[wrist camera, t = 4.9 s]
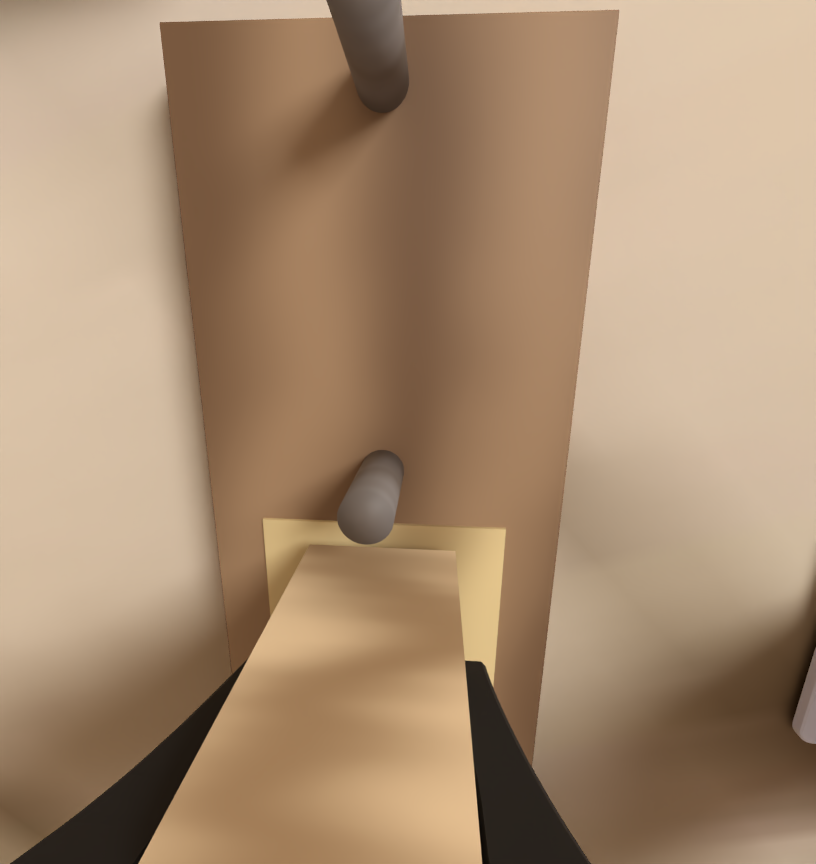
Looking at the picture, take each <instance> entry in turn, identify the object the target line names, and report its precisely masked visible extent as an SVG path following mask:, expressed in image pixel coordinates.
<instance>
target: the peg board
mask: <svg viewBox="0 0 816 864" xmlns="http://www.w3.org/2000/svg"><path fill="white" fill-rule="evenodd" d="M327 3H328V6H329V9H330V12H331V15H332V18H305V19H268V20H232V21H195V22H160V31H161V40H162V49H163V58H164V67H165V76H166V85H167V94H168V103H169V112H170V121H171V130H172V139H173V148H174V157H175V166H176V175H177V184H178V193H179V202H180V211H181V220H182V229H183V238H184V247H185V256H186V265H187V274H188V283H189V292H190V301H191V310H192V319H193V328H194V337H195V346H196V355H197V364H198V373H199V382H200V391H201V400H202V409H203V418H204V427H205V436H206V445H207V454H208V463H209V472H210V481H211V490H212V499H213V508H214V517H215V526H216V535H217V544H218V553H219V562H220V571H221V580H222V589H223V598H224V607H225V616H226V625H227V634H228V643H229V652H230V661H231V670H232V674H233V673H234V672H235V671H236V670H237V669H238V668H239V667H240V666H241V665H242V664H243V663H244V662H245V661H246V660H247V659H248V658H249V656H250V655H251V653H252V651H253V649H254V647H255V645H256V643H257V642H258V640H259V638H260V636H261V634H262V632H263V630H264V629H265V627H266V625H267V623H268V621H269V619H270V617H271V615H272V614H273V612H274V610H275V608H276V606H277V604H278V602H279V601H280V599H281V597H282V595H283V593H284V591H285V589H286V588H287V586H288V584H289V582H290V580H291V578H292V576H293V574H294V573H295V571H296V569H297V567H298V565H299V563H300V561H301V560H302V558H303V556H304V554H305V552H306V550H307V548H308V546H309V545H310V544H312V545H334V546H356V547H378V548H400V549H422V550H444V551H456V563H457V575H458V586H459V598H460V610H461V621H462V633H463V645H464V656H465V660H466V661H481V662H482V663H483V664H484V665H485V666H486V669H487V672H488V675H489V678H490V680H491V683H492V686H493V688H494V691H495V693H496V695H497V698H498V700H499V702H500V704H501V707H502V709H503V711H504V713H505V715H506V718H507V720H508V722H509V724H510V726H511V728H512V730H513V732H514V734H515V736H516V738H517V740H518V742H519V744H520V746H521V748H522V750H523V752H524V753H525V755H526V757H527V759H528V761H529V763H530V765H531V767H532V761H533V752H534V744H535V735H536V726H537V718H538V709H539V700H540V692H541V683H542V675H543V666H544V657H545V649H546V640H547V631H548V623H549V614H550V605H551V597H552V588H553V580H554V571H555V562H556V554H557V545H558V536H559V528H560V519H561V510H562V502H563V493H564V484H565V476H566V467H567V459H568V450H569V441H570V433H571V424H572V415H573V407H574V398H575V389H576V381H577V372H578V363H579V355H580V346H581V338H582V329H583V320H584V312H585V303H586V294H587V286H588V277H589V268H590V260H591V251H592V243H593V234H594V225H595V217H596V208H597V199H598V191H599V182H600V173H601V165H602V156H603V147H604V139H605V130H606V122H607V113H608V104H609V96H610V87H611V78H612V70H613V61H614V52H615V44H616V35H617V27H618V18H619V10H598V11H561V12H525V13H488V14H451V15H415V16H403V15H402V6H401V0H327Z"/></svg>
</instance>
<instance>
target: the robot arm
mask: <svg viewBox="0 0 816 864" xmlns="http://www.w3.org/2000/svg"><path fill="white" fill-rule="evenodd" d="M247 660H248V659H247ZM247 660H246V661H245V662H244V663H243V664H242V665H241V666H240V667H239V668H238V669H237V670H236V671H235V672H234V673H233V674H232V675H231V676H230V677H229V678H228V679H227V680H226V681H225V682H224V683H223V684H222V685H221V686H220V687H219V688H218V689H217V690H216V691H215V692H214V693H213V694H212V695H211V696H210V697H209V698H208V699H207V700H206V701H205V702H204V703H203V704H202V705H201V706H200V707H199V708H198V709H197V710H196V711H195V712H194V713H193V714H192V715H191V716H190V717H189V718H188V719H187V720H186V721H185V722H183V723H182V724H181V725H180V726H179V727H178V728H177V729H176V730H175V731H174V732H173V733H172V734H171V735H170V736H168V737H167V738H166V739H165V740H164V741H163V742H162V743H161V744H160V745H158V746H157V747H156V748H155V749H154V750H153V751H152V752H151V753H150V754H149V755H147V756H146V757H145V758H144V759H143V760H142V761H141V762H140V763H139V764H137V765H136V766H135V767H134V768H133V769H132V770H130V771H129V772H128V773H127V774H126V775H125V776H123V777H122V778H121V779H120V780H119V781H118V782H116V783H115V784H114V785H113V786H112V787H110V788H109V789H108V790H107V791H105V792H104V793H103V794H102V795H101V796H99V797H98V798H97V799H96V800H94V801H93V802H92V803H91V804H89V805H88V806H87V807H86V808H84V809H83V810H82V811H81V812H79V813H78V814H77V815H75V816H74V817H73V818H72V819H70V820H69V821H68V822H66V823H65V824H64V825H62V826H61V827H60V828H58V829H57V830H56V831H54V832H53V833H51V834H50V835H49V836H47V837H46V838H45V839H43V840H42V841H41V842H39V843H38V844H36V845H35V846H34V847H32V848H31V849H30V850H28V851H27V852H26V853H24V854H23V855H21V856H20V857H19V858H17V859H16V860H15V861H13V862H12V863H10V864H138V863H139V862H140V860H141V858H142V856H143V854H144V852H145V850H146V848H147V847H148V845H149V843H150V841H151V839H152V837H153V835H154V834H155V832H156V830H157V828H158V826H159V824H160V822H161V820H162V819H163V817H164V815H165V813H166V811H167V809H168V807H169V806H170V804H171V802H172V800H173V798H174V796H175V794H176V793H177V791H178V789H179V787H180V785H181V783H182V781H183V779H184V778H185V776H186V774H187V772H188V770H189V768H190V766H191V765H192V763H193V761H194V759H195V757H196V755H197V753H198V752H199V750H200V748H201V746H202V744H203V742H204V740H205V738H206V737H207V735H208V733H209V731H210V729H211V727H212V725H213V724H214V722H215V720H216V718H217V716H218V714H219V712H220V711H221V709H222V707H223V705H224V703H225V701H226V699H227V697H228V696H229V694H230V692H231V690H232V688H233V686H234V684H235V683H236V681H237V679H238V677H239V675H240V673H241V671H242V670H243V668H244V666H245V664H246V662H247ZM465 668H466V680H467V692H468V703H469V715H470V727H471V738H472V750H473V762H474V773H475V785H476V797H477V808H478V820H479V832H480V843H481V855H482V864H591V863H590V862H589V860H588V859H587V857H586V856H585V854H584V853H583V851H582V850H581V848H580V846H579V845H578V843H577V842H576V840H575V839H574V837H573V836H572V834H571V833H570V831H569V829H568V828H567V826H566V825H565V823H564V821H563V820H562V818H561V817H560V815H559V813H558V812H557V810H556V808H555V807H554V805H553V803H552V802H551V800H550V798H549V797H548V795H547V793H546V791H545V790H544V788H543V786H542V784H541V783H540V781H539V779H538V777H537V776H536V774H535V772H534V770H533V768H532V767H531V765H530V763H529V761H528V759H527V757H526V755H525V753H524V752H523V750H522V748H521V746H520V744H519V742H518V740H517V738H516V736H515V734H514V732H513V730H512V728H511V726H510V724H509V722H508V720H507V718H506V715H505V713H504V711H503V709H502V707H501V704H500V702H499V700H498V698H497V695H496V693H495V691H494V688H493V686H492V683H491V680H490V678H489V675H488V672H487V669H486V666H485V665H484V664H483V663H482V662H481V661H466V660H465ZM792 727H793V729H794V731H795V732H796V733H797V734H798V736H799V737H800V738H801V739H802V740H804V741H805V742H808V743H812V744H816V648H815V651H814V654H813V658H812V661H811V664H810V667H809V671H808V674H807V677H806V680H805V684H804V687H803V690H802V693H801V696H800V700H799V703H798V706H797V709H796V713H795V716H794V719H793V723H792Z"/></svg>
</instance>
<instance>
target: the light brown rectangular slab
mask: <svg viewBox="0 0 816 864" xmlns="http://www.w3.org/2000/svg"><path fill="white" fill-rule="evenodd" d="M138 864H482V855H481V843H480V832H479V820H478V808H477V797H476V785H475V773H474V762H473V750H472V738H471V727H470V715H469V703H468V692H467V680H466V668H465V656H464V645H463V633H462V621H461V610H460V598H459V586H458V575H457V563H456V551H444V550H422V549H400V548H378V547H356V546H334V545H312V544H310V545H309V546H308V548H307V550H306V552H305V554H304V556H303V558H302V560H301V561H300V563H299V565H298V567H297V569H296V571H295V573H294V574H293V576H292V578H291V580H290V582H289V584H288V586H287V588H286V589H285V591H284V593H283V595H282V597H281V599H280V601H279V602H278V604H277V606H276V608H275V610H274V612H273V614H272V615H271V617H270V619H269V621H268V623H267V625H266V627H265V629H264V630H263V632H262V634H261V636H260V638H259V640H258V642H257V643H256V645H255V647H254V649H253V651H252V653H251V655H250V656H249V658H248V660H247V662H246V664H245V666H244V668H243V670H242V671H241V673H240V675H239V677H238V679H237V681H236V683H235V684H234V686H233V688H232V690H231V692H230V694H229V696H228V697H227V699H226V701H225V703H224V705H223V707H222V709H221V711H220V712H219V714H218V716H217V718H216V720H215V722H214V724H213V725H212V727H211V729H210V731H209V733H208V735H207V737H206V738H205V740H204V742H203V744H202V746H201V748H200V750H199V752H198V753H197V755H196V757H195V759H194V761H193V763H192V765H191V766H190V768H189V770H188V772H187V774H186V776H185V778H184V779H183V781H182V783H181V785H180V787H179V789H178V791H177V793H176V794H175V796H174V798H173V800H172V802H171V804H170V806H169V807H168V809H167V811H166V813H165V815H164V817H163V819H162V820H161V822H160V824H159V826H158V828H157V830H156V832H155V834H154V835H153V837H152V839H151V841H150V843H149V845H148V847H147V848H146V850H145V852H144V854H143V856H142V858H141V860H140V862H139V863H138Z"/></svg>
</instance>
